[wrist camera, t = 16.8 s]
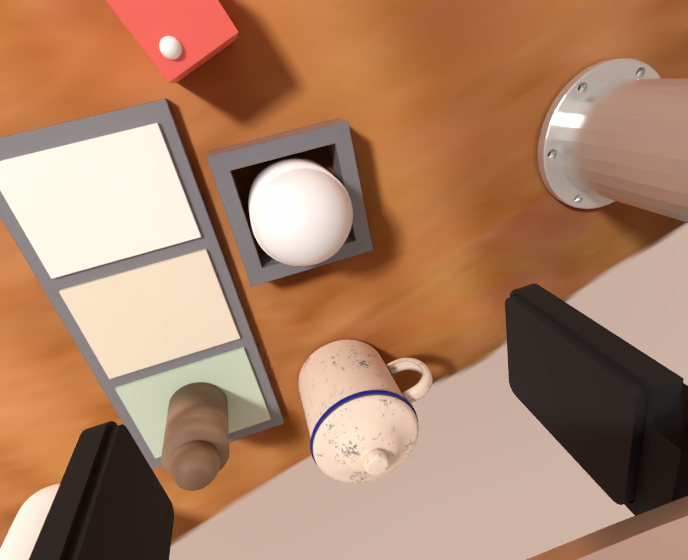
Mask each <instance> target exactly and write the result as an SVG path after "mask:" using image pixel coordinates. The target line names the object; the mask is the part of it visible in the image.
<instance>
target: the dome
mask: <svg viewBox="0 0 688 560" xmlns="http://www.w3.org/2000/svg"><path fill="white" fill-rule="evenodd" d="M248 210H249V215H250V221H251V226H252V230H253V234H254V236H255V239H256V240H257V242H258V244H259V245H260V247H261V248H262V249H263V250H264V251H265V252H266V253H267V254H268V255H269V256H271V257H272V258H273V259H275V260H277V261H279V262H281V263H284V264H287V265H292V266H311V265H315V264H318V263H321V262H323V261H325V260H327V259H329V258H330V257H332V256H333V255H334V254H335V253H337V251H338V250H339V249H340V248H341V247H342V245H343V244H344V242H345V241H346V239H347V237H348V235H349V232H350V230H351V226H352V220H353V209H352V203H351V200H350V197H349V195H348V192H347V191H346V189H345V187H344V186H343V185H342V183H341V182H340V181H339V180H338V179H337V178H336V177H334V176H333V175H332V174H331V173H330V172H329V171H327V170H326V169H325V168H324V167H323V166H321V165H320V164H318V163H316V162H315V161H312V160H310V159H307V158H302V157H287V158H282V159H279V160H276V161H274V162H272V163H270V164H269V165H267V166H266V167H265V168H264V169H263V170H261V171H260V173H259V174H258V175H257V176H256V178H255V179H254V181H253V183H252V185H251V188H250V191H249V196H248Z"/></svg>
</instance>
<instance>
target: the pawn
mask: <svg viewBox="0 0 688 560" xmlns="http://www.w3.org/2000/svg"><path fill="white" fill-rule="evenodd" d="M228 458H229V429H228V402H227V397H226V395H225V393H224V392H223V391H222V390H221V389H220V388H219V387H217V386H215V385H213V384H210V383H205V382H196V383H191V384H188V385H185V386H183V387H181V388H180V389H178V390H177V391H176V392H175V393H174V394H173V395H172V397H171V399H170V401H169V407H168V414H167V421H166V427H165V434H164V441H163V448H162V455H161V462H162V466H163V468H164V469H165V470H166V471H167V473H169V474H170V475H171V477H172V479H173V481H174V482H175V483H176V484H177V485H178V486H179V487H181V488H183V489H185V490H199V489H202V488H204V487H206V486H207V485H209V484H210V483H211V482H212V481H213V480H214V478H215V477H216V475H217V473H218V471H219V470H221V469H222V468H223V467H224V465H225V464H226V462H227V460H228Z"/></svg>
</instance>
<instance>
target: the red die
mask: <svg viewBox="0 0 688 560" xmlns="http://www.w3.org/2000/svg"><path fill="white" fill-rule="evenodd" d="M106 1H107V2H108V4H109V5H110V6H111V8H112V9H113V10H114V12H115V13H116V14H117V16H118V17H119V18H120V20H121V21H122V22H123V24H124V25H125V26H126V27H127V29H128V30H129V31H130V33H131V34H132V35H133V37H134V38H135V39H136V41H137V42H138V43H139V45H140V46H141V47H142V49H143V50H144V51H145V53H146V54H147V55H148V57H149V58H150V59H151V60H152V62H153V63H154V64H155V66H156V67H157V68H158V70H159V71H160V72H161V74H162V75H163V76H164V78H165V79H166V80H167V82H168V83H177V82H179V81H180V80H182V79H183V78H184V77H186V76H187V75H188V74H190V73H191V72H193V71H194V70H195V69H197V68H198V67H200V66H201V65H202V64H204V63H205V62H206V61H208V60H209V59H211V58H212V57H213V56H215V55H216V54H217V53H219V52H220V51H222V50H223V49H224V48H226V47H227V46H229V45H230V44H231V43H233V42H234V41H235V40H237V36H238V30H237V29H236V27H235V26H234V24H233V23H232V21H231V19H230V18H229V16H228V15H227V13H226V12H225V10H224V9H223V7H222V5H221V4H220V2H219V1H218V0H106Z"/></svg>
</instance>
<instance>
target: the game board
mask: <svg viewBox="0 0 688 560" xmlns="http://www.w3.org/2000/svg"><path fill="white" fill-rule="evenodd" d="M0 217H1V219H2V220H3V222H4V224H5V225H6V227H7V229H8V231H9V232H10V234H11V236H12V237H13V239H14V241H15V242H16V244H17V246H18V247H19V249H20V251H21V252H22V254H23V256H24V257H25V259H26V261H27V262H28V264H29V266H30V268H31V269H32V271H33V273H34V274H35V276H36V278H37V279H38V281H39V283H40V284H41V286H42V288H43V289H44V291H45V293H46V294H47V296H48V298H49V299H50V301H51V303H52V305H53V306H54V308H55V310H56V311H57V313H58V315H59V316H60V318H61V320H62V321H63V323H64V325H65V326H66V328H67V330H68V331H69V333H70V335H71V336H72V338H73V340H74V342H75V343H76V345H77V347H78V348H79V350H80V352H81V353H82V355H83V357H84V358H85V360H86V362H87V363H88V365H89V367H90V368H91V370H92V372H93V373H94V375H95V377H96V378H97V380H98V382H99V384H100V385H101V387H102V389H103V390H104V392H105V394H106V395H107V397H108V399H109V400H110V402H111V404H112V405H113V407H114V409H115V410H116V412H117V414H118V415H119V417H120V419H121V421H122V422H123V424H124V425H125V426H126V427H127V429H128V430H129V432H130V434H131V435H132V437H133V439H134V440H135V442H136V444H137V445H138V447H139V449H140V450H141V452H142V454H143V455H144V457H145V459H146V460H147V462H148V464H149V466H150V467H151V469H153V468H156V467H159V466H162V462H161V455H162V448H163V441H164V434H165V427H166V421H167V414H168V407H169V401H170V399H171V397H172V395H173V394H174V393H175V392H176V391H177V390H178V389H180V388H181V387H183V386H185V385H188V384H191V383H196V382H205V383H210V384H213V385H215V386H217V387H219V388H220V389H221V390H222V391H223V392H224V393H225V395H226V397H227V402H228V429H229V442H232V441H235V440H238V439H241V438H244V437H246V436H249V435H252V434H255V433H258V432H261V431H264V430H267V429H270V428H273V427H276V426H279V425H281V424H284V418H283V415H282V413H281V410H280V407H279V404H278V402H277V399H276V396H275V394H274V391H273V388H272V385H271V383H270V380H269V377H268V374H267V372H266V369H265V366H264V363H263V361H262V358H261V355H260V353H259V350H258V347H257V344H256V342H255V339H254V336H253V333H252V331H251V328H250V325H249V323H248V320H247V317H246V314H245V312H244V309H243V306H242V303H241V301H240V298H239V295H238V292H237V290H236V287H235V284H234V282H233V279H232V276H231V273H230V271H229V268H228V265H227V262H226V260H225V257H224V254H223V251H222V249H221V246H220V243H219V241H218V238H217V235H216V232H215V230H214V227H213V224H212V221H211V219H210V216H209V213H208V210H207V208H206V205H205V202H204V200H203V197H202V194H201V191H200V189H199V186H198V183H197V180H196V178H195V175H194V172H193V170H192V167H191V164H190V161H189V159H188V156H187V153H186V150H185V148H184V145H183V142H182V139H181V137H180V134H179V131H178V129H177V126H176V123H175V120H174V118H173V115H172V112H171V109H170V107H169V104H168V101H167V99H163V100H159V101H155V102H151V103H146V104H142V105H138V106H134V107H129V108H125V109H121V110H117V111H112V112H108V113H104V114H100V115H95V116H91V117H87V118H83V119H79V120H74V121H70V122H66V123H62V124H57V125H53V126H49V127H45V128H40V129H36V130H32V131H28V132H24V133H19V134H15V135H11V136H7V137H2V138H0Z"/></svg>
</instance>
